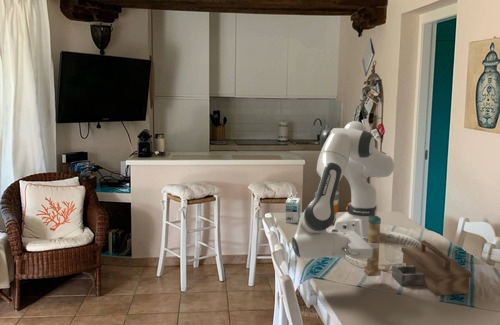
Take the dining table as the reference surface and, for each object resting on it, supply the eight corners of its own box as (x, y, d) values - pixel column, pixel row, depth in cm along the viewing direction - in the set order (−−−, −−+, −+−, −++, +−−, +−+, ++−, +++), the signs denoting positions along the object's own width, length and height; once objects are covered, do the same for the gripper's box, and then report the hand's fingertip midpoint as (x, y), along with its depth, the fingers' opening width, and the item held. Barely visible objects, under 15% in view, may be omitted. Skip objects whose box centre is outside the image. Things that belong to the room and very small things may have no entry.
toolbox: (413, 297, 168) (415, 265, 166) (382, 267, 194) (383, 238, 192) (470, 293, 170) (473, 262, 168) (432, 264, 197) (433, 236, 195)
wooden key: (368, 276, 177) (370, 219, 173) (364, 271, 181) (366, 215, 177) (380, 275, 177) (383, 218, 173) (375, 270, 182) (378, 215, 178)
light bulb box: (298, 223, 251) (298, 202, 249) (285, 222, 252) (285, 202, 250) (300, 217, 261) (300, 197, 259) (287, 216, 262) (287, 197, 260)
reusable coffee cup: (313, 217, 261) (313, 189, 258) (337, 217, 261) (337, 189, 258) (315, 224, 249) (315, 195, 246) (340, 224, 248) (341, 195, 246)
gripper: (348, 246, 165) (388, 244, 166) (330, 227, 185) (366, 225, 186) (347, 264, 166) (387, 262, 168) (330, 243, 186) (365, 242, 188)
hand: (376, 242), depth 177 cm, fingers closed on wooden key, 3 cm apart
